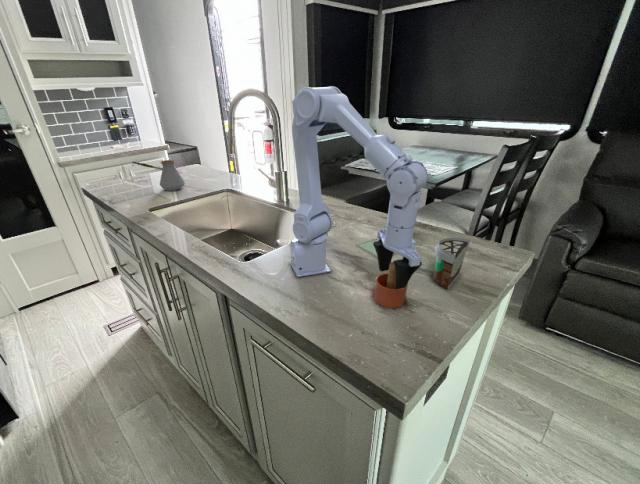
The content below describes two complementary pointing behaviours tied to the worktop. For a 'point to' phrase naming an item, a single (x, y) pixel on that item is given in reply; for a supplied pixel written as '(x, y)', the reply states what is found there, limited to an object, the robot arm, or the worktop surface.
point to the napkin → (370, 247)
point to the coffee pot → (168, 175)
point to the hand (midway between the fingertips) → (392, 278)
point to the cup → (388, 293)
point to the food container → (449, 260)
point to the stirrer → (391, 277)
